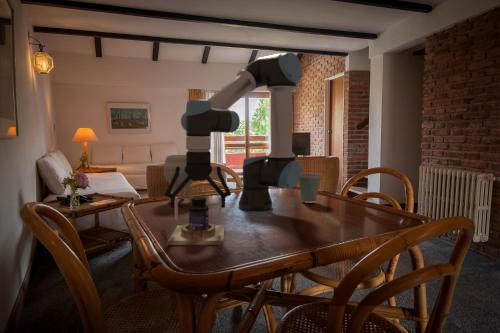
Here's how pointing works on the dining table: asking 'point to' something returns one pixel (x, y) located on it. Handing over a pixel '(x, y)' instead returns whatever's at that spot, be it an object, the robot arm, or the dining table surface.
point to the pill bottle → (198, 214)
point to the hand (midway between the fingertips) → (198, 218)
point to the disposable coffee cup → (309, 186)
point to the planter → (169, 173)
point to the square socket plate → (197, 236)
